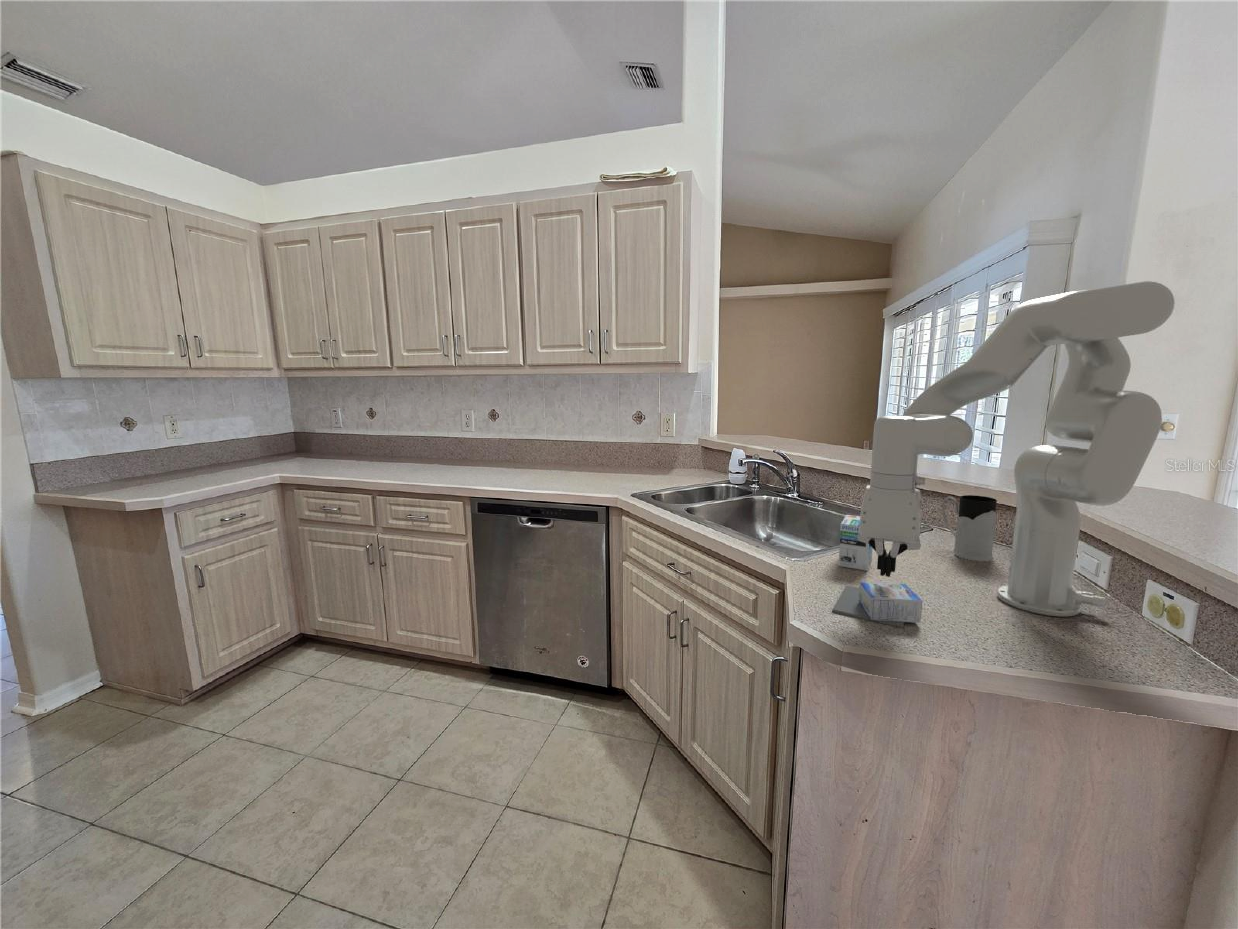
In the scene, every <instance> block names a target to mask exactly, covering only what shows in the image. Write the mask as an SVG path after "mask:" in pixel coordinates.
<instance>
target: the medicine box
mask: <svg viewBox="0 0 1238 929" xmlns="http://www.w3.org/2000/svg"><path fill="white" fill-rule="evenodd" d="M858 588H859V602H860V604H861V605H862V606H863V608H864V609H865V611H866V612H867V614H868V615H869V617H870V618H871V619H872V620H883V621H898V622H905V623H916V624H917V623H918V624H919V623H921V620H922V613H923V612H922V609H923V600H922V599H921V598H920V597H919V596H918V595H917V594H916V593H915V592H914V591H913V590H912V589H911V588H910V587H909V586H908V585H907V584H905V583H891V582H889V583H887V582H885V583H884V582H872V581H871V582H870V581H860V582H859V587H858Z"/></svg>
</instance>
